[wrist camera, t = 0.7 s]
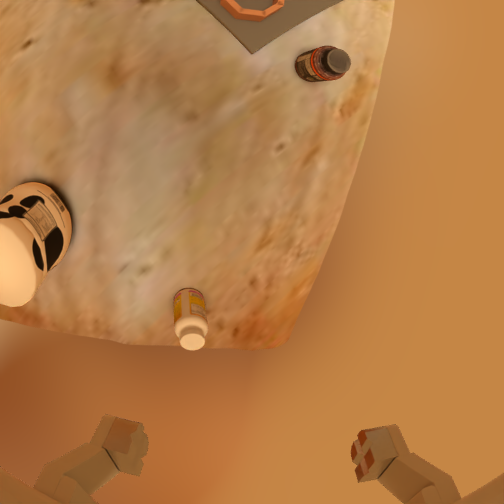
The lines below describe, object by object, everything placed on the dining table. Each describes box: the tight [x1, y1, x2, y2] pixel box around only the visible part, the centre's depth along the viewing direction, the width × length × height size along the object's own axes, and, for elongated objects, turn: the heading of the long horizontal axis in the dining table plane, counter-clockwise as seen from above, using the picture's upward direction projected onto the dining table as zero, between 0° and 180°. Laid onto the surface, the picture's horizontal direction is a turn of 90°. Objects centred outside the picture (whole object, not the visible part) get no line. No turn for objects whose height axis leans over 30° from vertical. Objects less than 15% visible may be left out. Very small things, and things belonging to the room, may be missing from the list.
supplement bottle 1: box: [174, 289, 208, 350], centre depth 55 cm, size 7×7×13 cm
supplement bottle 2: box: [295, 46, 351, 82], centre depth 37 cm, size 6×6×11 cm
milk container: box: [0, 182, 72, 307], centre depth 36 cm, size 17×17×18 cm
